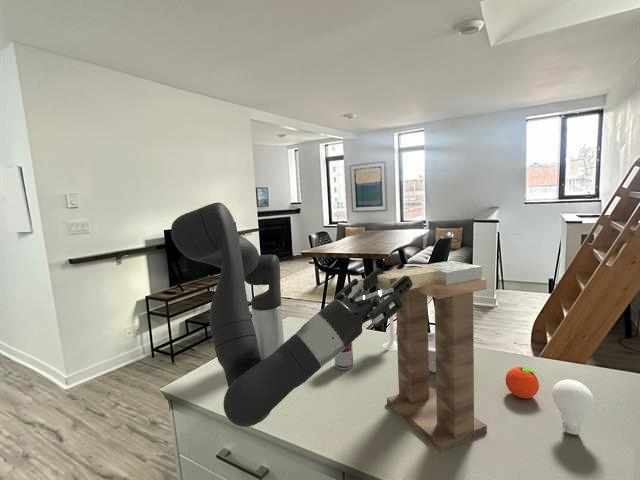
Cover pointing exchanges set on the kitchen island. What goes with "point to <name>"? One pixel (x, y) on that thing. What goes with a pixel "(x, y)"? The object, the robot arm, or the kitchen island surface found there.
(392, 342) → the champagne flute
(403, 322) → the shelf
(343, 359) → the energy drink
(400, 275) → the beige and gray block
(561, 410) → the light bulb
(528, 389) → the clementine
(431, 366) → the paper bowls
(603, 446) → the kitchen island surface
